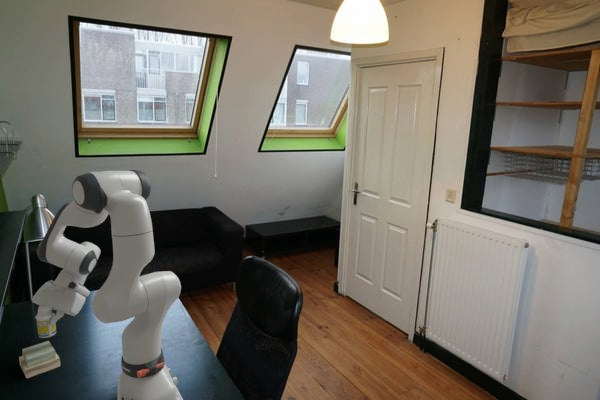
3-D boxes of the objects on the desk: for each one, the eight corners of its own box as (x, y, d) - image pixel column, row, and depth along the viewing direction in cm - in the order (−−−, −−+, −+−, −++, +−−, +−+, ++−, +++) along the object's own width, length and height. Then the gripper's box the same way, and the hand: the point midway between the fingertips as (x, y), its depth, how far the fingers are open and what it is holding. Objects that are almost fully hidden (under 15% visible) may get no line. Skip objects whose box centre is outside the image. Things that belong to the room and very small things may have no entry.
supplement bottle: (52, 328, 145) (50, 303, 143) (59, 334, 142) (56, 308, 140) (35, 334, 141) (33, 308, 139) (41, 340, 138) (39, 313, 136)
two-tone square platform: (60, 366, 140) (59, 350, 139) (26, 378, 133) (24, 362, 132) (52, 353, 147) (51, 338, 146) (19, 364, 140) (17, 349, 139)
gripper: (42, 275, 148) (17, 311, 141) (81, 286, 140) (57, 325, 133) (54, 282, 153) (31, 317, 146) (93, 293, 145) (71, 331, 138)
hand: (44, 321), depth 140 cm, fingers closed on supplement bottle, 5 cm apart
